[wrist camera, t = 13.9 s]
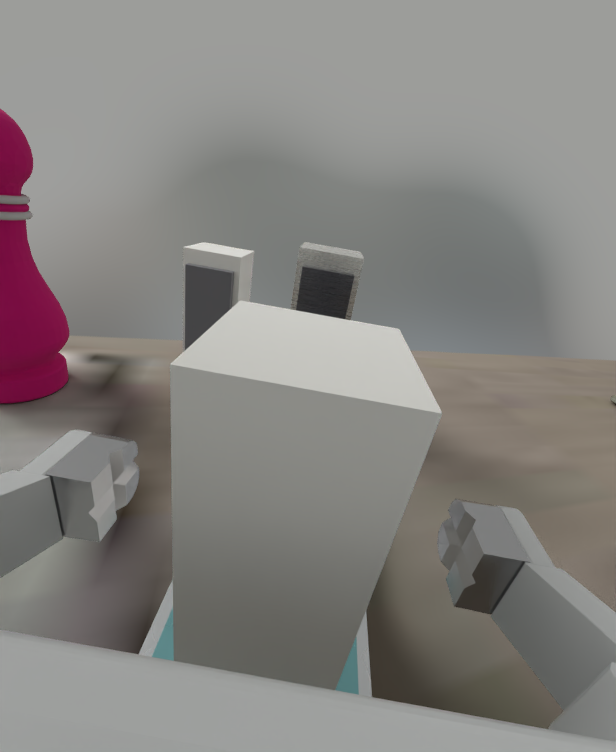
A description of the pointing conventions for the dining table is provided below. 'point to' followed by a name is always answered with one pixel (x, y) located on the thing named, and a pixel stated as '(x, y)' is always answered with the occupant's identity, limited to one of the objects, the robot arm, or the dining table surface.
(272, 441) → the tall white upright block
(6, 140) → the pepper mill
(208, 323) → the block
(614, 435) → the dining table surface
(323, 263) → the rail
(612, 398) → the decorative slab
